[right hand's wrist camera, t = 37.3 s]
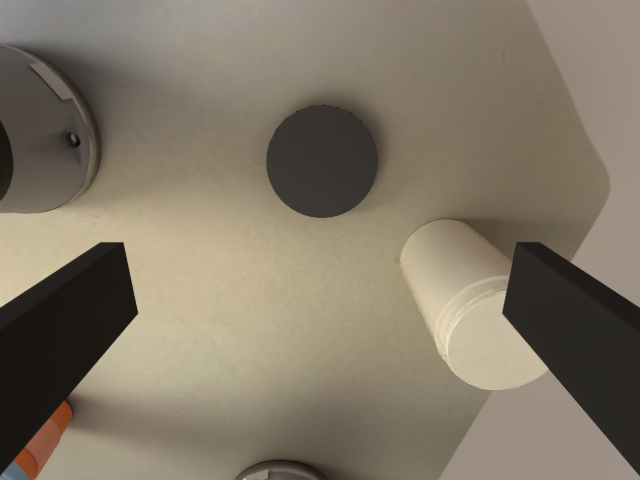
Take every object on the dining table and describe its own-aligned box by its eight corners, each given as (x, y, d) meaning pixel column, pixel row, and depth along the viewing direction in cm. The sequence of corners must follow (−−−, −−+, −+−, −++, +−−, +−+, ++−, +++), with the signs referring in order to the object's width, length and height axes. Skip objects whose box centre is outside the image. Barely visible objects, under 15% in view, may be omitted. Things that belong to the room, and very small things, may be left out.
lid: (329, 79, 34) (329, 78, 32) (396, 168, 37) (400, 172, 35) (246, 154, 36) (242, 157, 34) (315, 232, 39) (315, 238, 37)
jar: (485, 287, 42) (570, 383, 28) (405, 301, 42) (447, 402, 28) (481, 211, 38) (575, 276, 24) (394, 228, 39) (436, 300, 25)
